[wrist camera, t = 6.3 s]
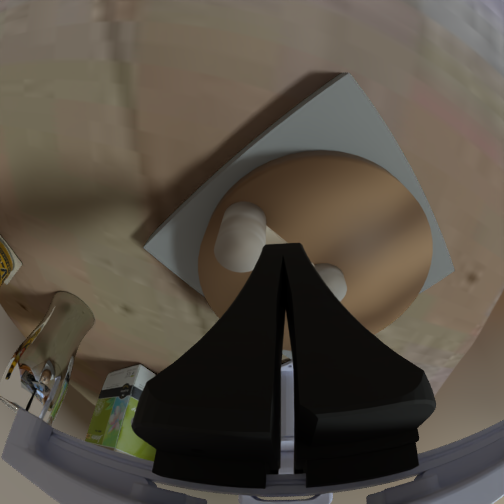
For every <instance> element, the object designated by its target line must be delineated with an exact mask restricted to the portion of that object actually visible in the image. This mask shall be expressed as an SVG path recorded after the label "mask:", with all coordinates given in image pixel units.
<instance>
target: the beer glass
mask: <svg viewBox="0 0 504 504" xmlns="http://www.w3.org/2000/svg"><path fill="white" fill-rule="evenodd" d="M94 321H95V320H94V316H93V313H92V312H91V310H90V309H89V307H88V306H87V305H86V304H85V303H84V302H83V301H82V300H80V299H79V298H78V297H76V296H74V295H72V294H70V293H68V292H57V293H56V294H55V295H54V297H53V299H52V301H51V303H50V306H49V308H48V311H47V313H46V315H45V316H44V318H43V319H42V321H41V322H40V323H39V325H38V326H37V327H36V328H35V329H34V330H33V331H32V332H31V333H30V335H29V336H28V337H27V338H26V339H25V340H24V341H23V343H22V344H21V345H20V346H19V348H18V349H17V350H16V352H15V353H14V355H13V357H12V358H11V360H10V361H9V364H8V365H7V368H6V370H5V372H4V374H3V377H2V380H1V382H0V401H1V402H2V403H3V404H4V405H6V406H7V407H8V408H9V409H10V410H12V411H13V412H15V413H16V414H17V412H18V409H19V408H22V409H24V410H26V411H27V412H29V413H31V414H33V415H35V416H37V417H39V418H40V419H42V420H44V421H45V422H46V423H48V424H49V425H51V426H52V424H53V421H54V419H55V418H56V415H57V413H58V411H59V409H60V406H61V404H62V402H63V400H64V396H65V394H66V391H67V388H68V384H69V381H70V377H71V373H72V368H73V364H74V360H75V356H76V353H77V350H78V347H79V345H80V343H81V341H82V339H83V338H84V336H85V335H86V334H87V333H88V331H89V330H90V329H91V328H92V326H93V325H94Z"/></svg>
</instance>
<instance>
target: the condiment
mask: <svg viewBox="0 0 504 504" xmlns="http://www.w3.org/2000/svg"><path fill="white" fill-rule="evenodd" d="M21 265H22V263H21V261H20V260H19V259H18V258H17V256H16V255H15V254H14V252H13V251H12V250H11V248H10V247H9V246H8V244H7V243H6V242H5V240H4V239H3V238H2V237H1V235H0V286H1V285H2V284H3V282H4V283H5V284H6V285H7V284H8V283H9V281H10V280H11V279H12V277H13V276H14V275H15V273H16V272H17V271H18V269H19V268H20V267H21Z"/></svg>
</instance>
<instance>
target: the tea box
mask: <svg viewBox="0 0 504 504" xmlns="http://www.w3.org/2000/svg"><path fill="white" fill-rule="evenodd" d="M155 376H156V374H154V373H153V372H151V371H150V370H148V369H147V368H145V367H144V366H142V365H141V364H139V365H136V366H131V367H128V368H124V369H121V370H118V371H114V372H111V373H109V374H108V376H107V378H106V380H105V383H104V385H103V388H102V390H101V393H100V396H99V399H98V402H97V405H96V408H95V410H94V414H93V417H92V420H91V423H90V426H89V430H88V433H87V436H86V440H85V441H86V442H89V443H91V444H94V445H97V446H100V447H103V448H106V449H109V450H112V451H116V452H119V453H123V454H126V455H130V456H133V457H137V458H141V459H145V460H150V461H154V459H155V454H156V449H155V448H154V447H152V446H151V445H149V444H148V443H146V442H145V441H144V440H142V439H141V438H139V437H138V436H137V435H136V434H135V433H134V432H133V430H132V427H131V425H132V422H133V418H134V415H135V411H136V408H137V404H138V401H139V398H140V396H141V393H142V391H143V389H144V387H145V384H146V382H147V381H148V380H150V379H152V378H153V377H155Z"/></svg>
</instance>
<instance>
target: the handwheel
mask: <svg viewBox="0 0 504 504" xmlns="http://www.w3.org/2000/svg"><path fill="white" fill-rule="evenodd" d="M282 243H301V244H302V245H303V248H304V250H305V252H306V254H307V256H308V258H309V259H310V261H311V263H312V264H313V266H314V267H315V269H316V271H317V272H318V273H319V275H320V276H321V278H322V279H323V281H324V282H325V283H326V285H327V286H328V287H329V289H330V290H331V291H332V292H333V294H334V295H335V296H336V297H337V299H338V300H339V301H340V302H341V303H342V304H343V306H344V307H345V308H346V309H347V310H348V311H349V312H350V313H351V314H352V315H353V316H354V317H355V318H356V319H357V320H358V321H359V322H360V323H361V324H362V325H363V326H364V327H365V328H366V329H368V330H369V331H370V332H371V333H372V334H373V335H374V334H376V333H378V332H379V331H381V330H383V329H384V328H386V327H387V326H388V325H390V324H391V323H393V322H394V321H395V320H396V319H397V318H398V317H400V316H401V315H402V314H403V313H404V312H405V311H406V310H407V309H408V308H409V306H410V305H411V304H412V303H413V301H414V300H415V299H416V297H417V296H418V294H419V292H420V291H421V289H422V287H423V285H424V283H425V281H426V279H427V276H428V273H429V270H430V266H431V261H432V254H433V240H432V234H431V228H430V225H429V222H428V220H427V217H426V214H425V213H424V211H423V209H422V207H421V205H420V204H419V202H418V201H417V200H416V199H415V197H414V196H413V195H412V194H411V193H410V191H409V190H408V189H407V188H406V187H405V186H404V185H403V184H402V183H401V182H400V181H399V180H398V179H397V178H396V177H394V176H393V175H392V174H391V173H390V172H389V171H387V170H386V169H384V168H383V167H381V166H379V165H378V164H376V163H374V162H373V161H370V160H368V159H365V158H363V157H360V156H358V155H353V154H349V153H345V152H340V151H328V150H317V151H304V152H299V153H294V154H289V155H285V156H282V157H280V158H277V159H274V160H271V161H269V162H267V163H265V164H263V165H261V166H259V167H257V168H255V169H254V170H252V171H251V172H249V173H248V174H246V175H245V176H244V177H242V178H241V179H240V180H239V181H238V182H236V183H235V184H234V185H233V186H232V187H231V188H230V189H229V190H228V191H227V193H226V194H225V195H224V196H223V198H222V199H221V200H220V201H219V203H218V205H217V206H216V208H215V210H214V212H213V214H212V215H211V218H210V221H209V223H208V226H207V229H206V231H205V234H204V237H203V240H202V242H201V245H200V251H199V256H198V275H199V281H200V285H201V288H202V291H203V294H204V296H205V298H206V300H207V302H208V304H209V306H210V307H211V308H212V310H213V311H214V312H215V314H216V315H217V316H218V317H219V318H221V317H222V315H223V314H224V313H225V312H226V311H227V309H228V308H229V307H230V305H231V304H232V303H233V301H234V300H235V298H236V297H237V295H238V294H239V292H240V291H241V289H242V288H243V286H244V285H245V283H246V281H247V280H248V278H249V276H250V274H251V273H252V271H253V269H254V267H255V265H256V263H257V261H258V259H259V256H260V254H261V251H262V248H263V247H264V246H265V245H266V244H282ZM283 350H287V351H291V345H290V337H289V330H288V322H287V315H286V313H285V326H284V338H283Z"/></svg>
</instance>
